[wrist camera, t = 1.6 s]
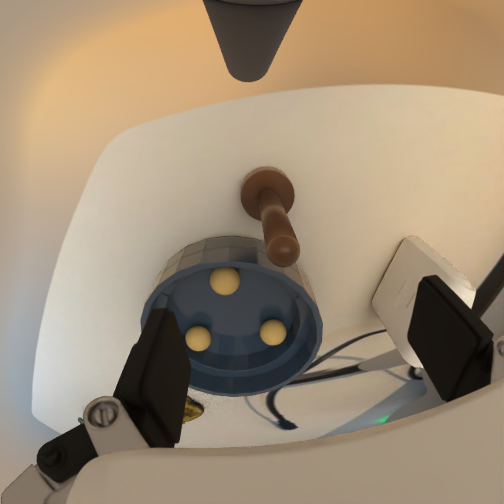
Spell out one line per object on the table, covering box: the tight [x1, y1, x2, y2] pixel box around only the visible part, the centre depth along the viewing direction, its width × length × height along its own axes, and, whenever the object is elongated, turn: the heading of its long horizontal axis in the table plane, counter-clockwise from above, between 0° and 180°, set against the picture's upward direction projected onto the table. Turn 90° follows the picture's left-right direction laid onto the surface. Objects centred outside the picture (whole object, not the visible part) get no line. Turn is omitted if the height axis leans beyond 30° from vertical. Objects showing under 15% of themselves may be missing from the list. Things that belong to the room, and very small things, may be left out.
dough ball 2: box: [210, 267, 240, 295], centre depth 29 cm, size 3×3×3 cm
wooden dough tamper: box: [241, 167, 300, 267], centre depth 21 cm, size 5×5×14 cm
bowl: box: [140, 236, 323, 397], centre depth 31 cm, size 18×18×6 cm
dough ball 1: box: [185, 326, 211, 351], centre depth 33 cm, size 3×3×3 cm
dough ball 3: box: [260, 319, 286, 345], centre depth 32 cm, size 3×3×3 cm
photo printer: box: [372, 236, 476, 368], centre depth 26 cm, size 10×4×12 cm, turn 162°
